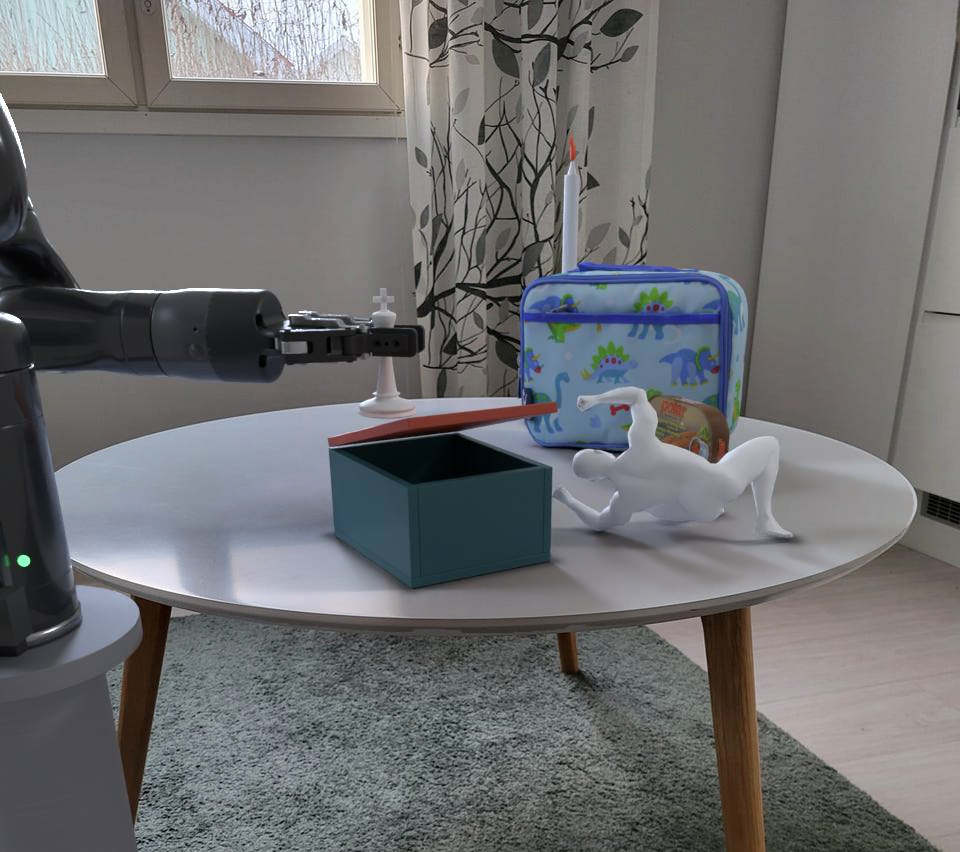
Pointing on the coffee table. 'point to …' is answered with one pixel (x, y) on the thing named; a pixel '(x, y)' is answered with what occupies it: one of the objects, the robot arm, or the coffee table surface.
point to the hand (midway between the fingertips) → (419, 340)
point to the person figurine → (672, 474)
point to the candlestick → (570, 214)
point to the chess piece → (386, 375)
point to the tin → (691, 426)
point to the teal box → (441, 507)
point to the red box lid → (442, 423)
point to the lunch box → (627, 346)
